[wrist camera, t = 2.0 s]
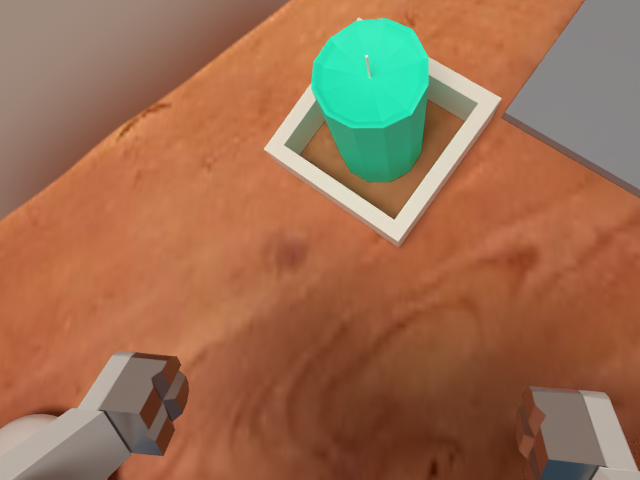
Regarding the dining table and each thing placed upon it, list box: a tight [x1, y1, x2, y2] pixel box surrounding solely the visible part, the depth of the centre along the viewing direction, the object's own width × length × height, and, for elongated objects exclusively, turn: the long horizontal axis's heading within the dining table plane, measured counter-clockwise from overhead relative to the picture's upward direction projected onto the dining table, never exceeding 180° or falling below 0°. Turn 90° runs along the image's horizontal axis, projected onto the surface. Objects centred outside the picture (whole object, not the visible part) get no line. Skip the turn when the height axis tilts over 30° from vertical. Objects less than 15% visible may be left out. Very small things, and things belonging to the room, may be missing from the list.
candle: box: [311, 18, 429, 182], centre depth 27 cm, size 6×6×12 cm
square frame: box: [264, 17, 502, 248], centre depth 31 cm, size 11×11×4 cm
